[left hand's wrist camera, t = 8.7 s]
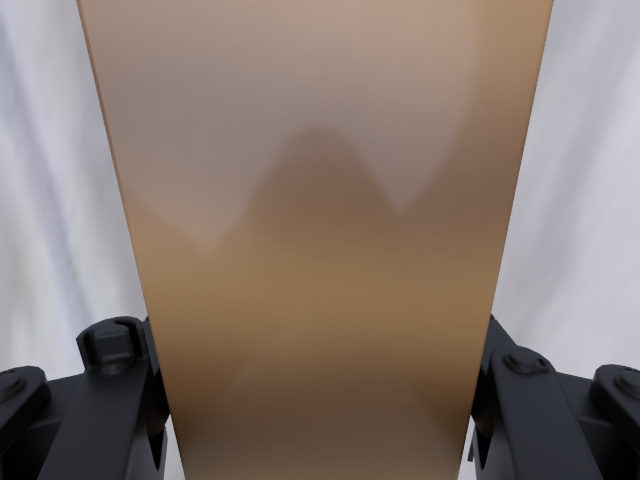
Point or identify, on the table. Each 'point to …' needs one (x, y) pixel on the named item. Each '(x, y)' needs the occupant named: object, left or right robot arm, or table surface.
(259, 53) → the beam
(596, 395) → the left robot arm
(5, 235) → the table surface
